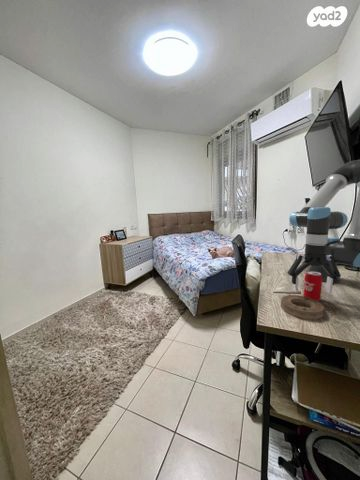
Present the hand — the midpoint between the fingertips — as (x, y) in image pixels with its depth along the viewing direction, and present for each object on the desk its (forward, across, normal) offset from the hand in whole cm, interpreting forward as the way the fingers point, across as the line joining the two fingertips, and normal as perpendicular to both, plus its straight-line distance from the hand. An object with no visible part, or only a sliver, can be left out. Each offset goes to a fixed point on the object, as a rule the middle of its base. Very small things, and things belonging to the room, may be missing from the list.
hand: (311, 291), depth 84 cm
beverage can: (+4, 0, 0) cm, 4 cm away
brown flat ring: (+4, +9, +10) cm, 14 cm away
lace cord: (+4, +8, -6) cm, 10 cm away
